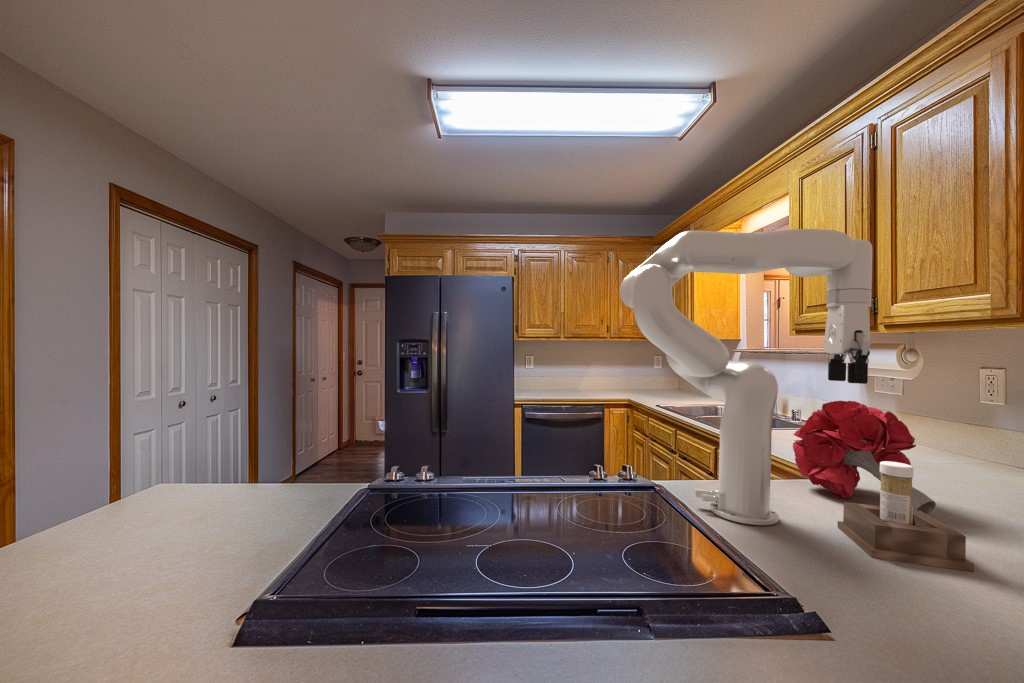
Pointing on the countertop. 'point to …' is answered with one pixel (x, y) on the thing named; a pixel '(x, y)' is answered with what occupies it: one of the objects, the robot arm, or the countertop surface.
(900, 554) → the socket block
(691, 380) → the robot arm
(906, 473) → the sprinkles bottle
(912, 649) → the countertop surface
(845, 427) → the bouquet
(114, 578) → the countertop surface
